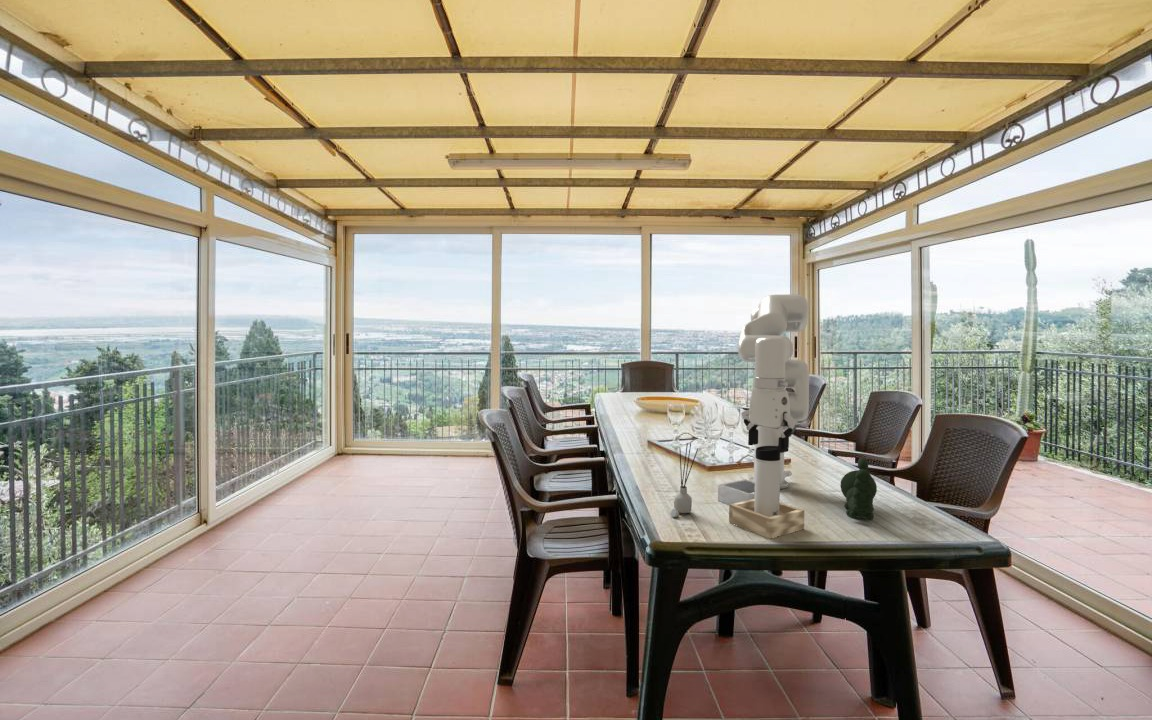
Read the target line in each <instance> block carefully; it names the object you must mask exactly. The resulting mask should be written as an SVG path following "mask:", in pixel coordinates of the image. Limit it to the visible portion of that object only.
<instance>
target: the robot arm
mask: <svg viewBox="0 0 1152 720" xmlns="http://www.w3.org/2000/svg"><path fill="white" fill-rule="evenodd" d="M809 309H810V308H809V302H808V300H807V298H806V297H805V296H804V295H801V294H795V293H794V294H770V295H767V296H764V297H763V298H762V299H761V300H760V301H759V304H758V306H757V307H755V308H754V309H753V310H751V314H750V321H749V322H747V323H746V324H745V325H744V326H743V327H742V328H741V330H740V332H739V338H738V344H737V354H738V357H739V358H740V359H741V360H742V362H745V363H754V385H753V386H754V387H752V391H751V394H750V402H749V409H747V410H744V411H742V412H741V417H742V419H743V424H744V425H745V426H746V430H747V431H748V437H747V438H748V439H747V440H748V446H754V447H753V448H754V450H753V451H754V452H753V453H754V454H753V476H751V477H750V478H748V480H750V481H753V482H755V460H756V459H755V457H756V448H758V447H761V446H778V452H779V453H780V490H781V489H787V488H788V487H789V481H788V480H786V478H787V477H790V476H792V475H793V474H792V471H791V470H789V469H788V470H785V453H786V452H789V448H790V437H791V436H792V435H793V434H794V433H795V432H796V430H797V427H798V426H799V422H803V421H805V420H807V418H808V416H809V410H810V409H809V408H810V371H809V367H808V364H807V363H806V361H804V360H801V359H791V358H792V357H793V354H794V344H793V341H792V340H791V338H789V337H788V336H787V335H783V334H784V333H787V332H789V333H790V332H791V333H793V332H794V333H795V332H796V333H799V332H802V331H804V330H805V329H806V327H807V324H808V319H809V314H810V313H809V312H810V311H809ZM787 389H792V390H793V391H788V390H787Z"/></svg>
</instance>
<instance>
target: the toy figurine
mask: <svg viewBox="0 0 1152 720" xmlns="http://www.w3.org/2000/svg"><path fill="white" fill-rule="evenodd" d="M857 468H858V469H859V470H851V471H849V472H847V473H846V474H844V476H842V478H841V481H840V490H841V492H842V495H843V497H845V501H846V502H845V503H844V509H845V510H846V512H845V514H846V516H847V517H848V518H849V517H850V519H851V518H852V519H854V520H855V519H857V517H858V518H865V520H867V521H873V519H874V517H875V516H874V513H873V512H874V510H875V508H874V503H873V502H874V498H875V497H876V494H877V491H878V486H877V483H876V481H875V479H874V478H873V477H872V475H871V473H870V472H869V470H868V468H869V462H868V460H867V458H865V457H860V458H858V460H857Z"/></svg>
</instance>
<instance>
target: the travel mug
mask: <svg viewBox="0 0 1152 720" xmlns="http://www.w3.org/2000/svg"><path fill="white" fill-rule="evenodd" d="M755 459H756V460H755V503H754V512H757V513H759V514H762V515H765V516H768V517H772V516H776V515H779V502H781V501H780V493H781V492H780V491H781V489H780V453H779V452H778V446H761V447H758V448H756V457H755Z"/></svg>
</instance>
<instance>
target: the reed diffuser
mask: <svg viewBox="0 0 1152 720" xmlns="http://www.w3.org/2000/svg"><path fill="white" fill-rule="evenodd" d="M688 444H689V450H688ZM691 447H692V442H690V443H689V442H686V449H685V456H684V464H683V472H682V454H681V447H680V446H679V464H680V467H679V468H680V484H681V486H679V493H677V494H676V495H675V498H674V502H673V503H674V504H673V505H674V509H671V511H670V516H671V517H672V518H677V517H678V518H679V517H680V513H682V514H687V513H691V512H692V507H693V505H692V503H693V499H692V496H691V495H690V494H689V493H688V487H687V486H686V484H687V481H688V478H689V476H690V473H691V471H692V467H693V465H694V463H695V459H696V457H697V453H698V451H699V447H698V448H697V449H696V451H695V454H694V457H693V460H692V462H691V465H690V467H689V461H690V454H691ZM687 454H688V456H687ZM687 457H688V458H687ZM686 460H687V464H686ZM685 467H686V468H685ZM688 468H689V471H688ZM685 469H686V470H685ZM684 477H685V478H684Z"/></svg>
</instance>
